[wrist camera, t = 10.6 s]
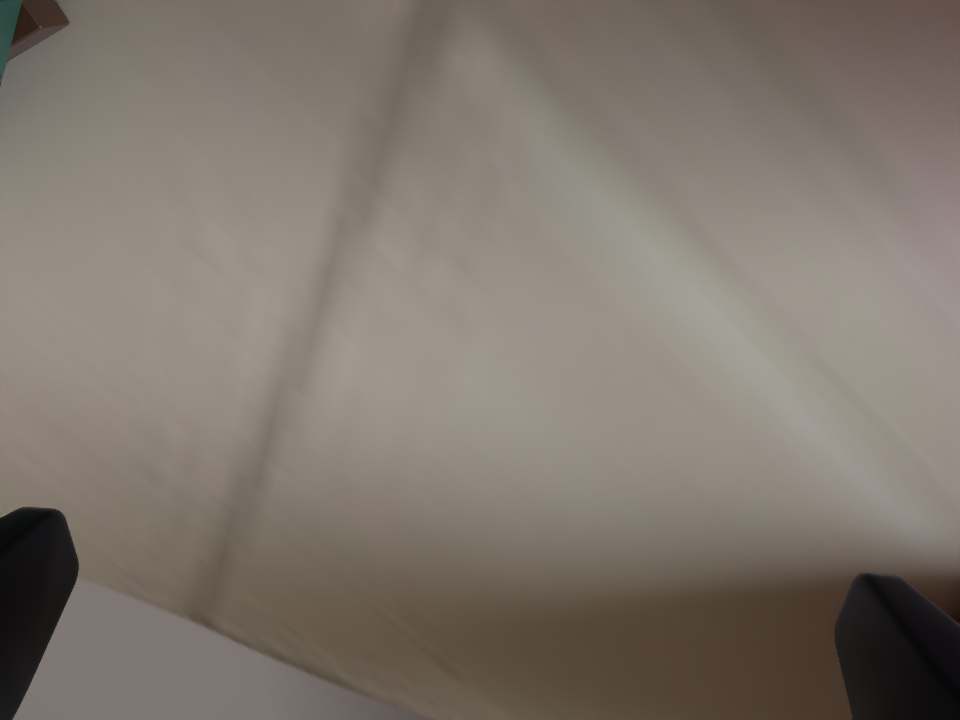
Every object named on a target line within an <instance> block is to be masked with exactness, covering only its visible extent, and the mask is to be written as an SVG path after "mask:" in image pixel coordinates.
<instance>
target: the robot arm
mask: <svg viewBox="0 0 960 720" xmlns="http://www.w3.org/2000/svg"><path fill="white" fill-rule="evenodd" d="M78 570H79V562H78V557H77V554H76V550H75V547H74V544H73V541H72V537H71V534H70V531H69V528H68V525H67V521H66V518H65V516H64V515H63V514H62V513H61V512H60V511H59V510H56V509H51V508H38V507H22V508H19V509H17V510H15V511H13V512H11V513H9V514H7V515H5V516H3V517H2V518H0V720H12V719H13V717H14V715H15V714H16V712H17V710H18V708H19V706H20V704H21V702H22V700H23V698H24V696H25V694H26V692H27V690H28V687H29V686H30V683H31V681H32V679H33V677H34V674H35V672H36V670H37V668H38V665H39V663H40V661H41V659H42V656H43V654H44V652H45V650H46V648H47V645H48V643H49V641H50V639H51V636H52V634H53V632H54V630H55V628H56V625H57V623H58V621H59V619H60V616H61V614H62V612H63V609H64V607H65V605H66V603H67V601H68V599H69V596H70V594H71V592H72V589H73V587H74V585H75V582H76V580H77V576H78ZM834 638H835V645H836V650H837V654H838V658H839V663H840V667H841V671H842V675H843V680H844V684H845V688H846V692H847V697H848V701H849V705H850V710H851V714H852V718H853V720H960V624H958V623H957V622H956V621H955V620H953V619H952V618H951V617H950V616H948V615H947V614H946V613H945V612H944V611H942V610H941V609H940V608H939V607H937V606H936V605H935V604H934V603H932V602H931V601H930V600H929V599H927V598H926V597H925V596H924V595H922V594H921V593H920V592H919V591H917V590H916V589H915V588H914V587H913V586H911V585H910V584H909V583H908V582H906V581H905V580H903V579H902V578H900V577H898V576H895V575H890V574H878V573H860V574H858V575H857V576H856V577H855V578H854V580H853V582H852V584H851V586H850V588H849V591H848V593H847V596H846V598H845V601H844V603H843V605H842V608H841V610H840V613H839V615H838V618H837V620H836V623H835V629H834Z"/></svg>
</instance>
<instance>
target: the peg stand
mask: <svg viewBox="0 0 960 720" xmlns="http://www.w3.org/2000/svg"><path fill="white" fill-rule="evenodd" d="M68 24H69V21H68V19H67V18H66V16H65V15H64V13H63V12H62V10H61V9H60V7H59V6H58V4H57V3H56V1H55V0H22V4H21V7H20V11H19V15H18V19H17V23H16V27H15V31H14V35H13V39H12V43H11V46H10V50H9V54H8V58H7V62H8V61H9V60H11V59H13V58H14V57H16V56H18V55H19V54H21V53H23V52H24V51H26V50H28V49H29V48H31V47H33V46H34V45H36V44H38V43H39V42H41V41H42V40H44V39H46V38H47V37H49V36H51V35H52V34H54V33H56V32H57V31H59V30H61V29H62V28H64V27H66V26H67V25H68Z"/></svg>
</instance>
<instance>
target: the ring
mask: <svg viewBox="0 0 960 720" xmlns="http://www.w3.org/2000/svg"><path fill="white" fill-rule="evenodd" d="M21 4H22V0H0V85H1V82H2V78H3V74H4V70H5V66H6V62H7V58H8V54H9V50H10V46H11V43H12V39H13V35H14V31H15V27H16V23H17V19H18V15H19V11H20V7H21Z"/></svg>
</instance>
